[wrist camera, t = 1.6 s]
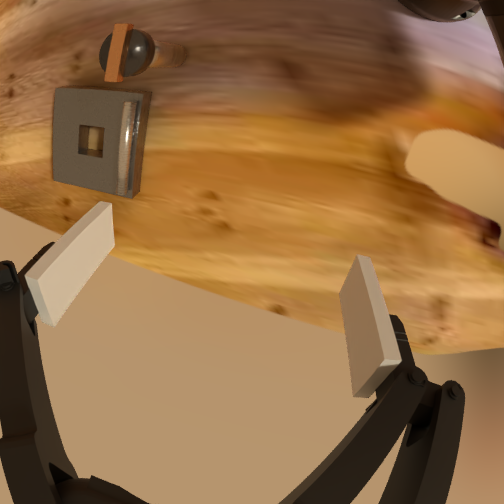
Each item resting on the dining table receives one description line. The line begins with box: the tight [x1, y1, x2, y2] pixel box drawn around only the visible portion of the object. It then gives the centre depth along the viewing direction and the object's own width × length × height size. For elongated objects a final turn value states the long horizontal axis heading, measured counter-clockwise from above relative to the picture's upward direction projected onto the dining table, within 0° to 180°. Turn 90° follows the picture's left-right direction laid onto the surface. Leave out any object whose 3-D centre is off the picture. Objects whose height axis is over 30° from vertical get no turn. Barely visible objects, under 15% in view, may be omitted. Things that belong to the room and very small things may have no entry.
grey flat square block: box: [53, 86, 152, 199], centre depth 34 cm, size 14×14×4 cm
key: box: [99, 24, 186, 82], centre depth 23 cm, size 5×4×14 cm
